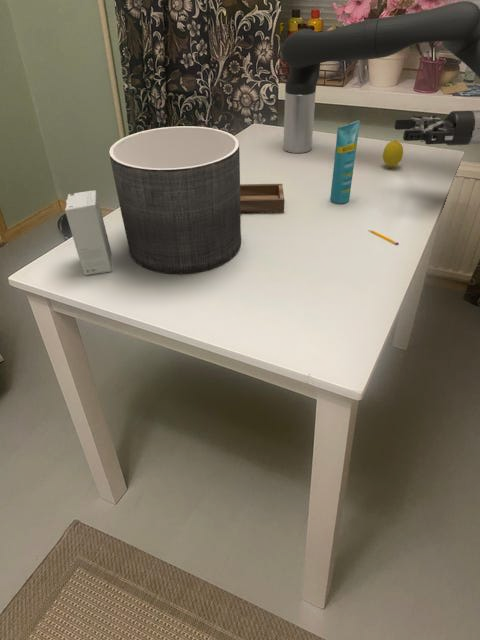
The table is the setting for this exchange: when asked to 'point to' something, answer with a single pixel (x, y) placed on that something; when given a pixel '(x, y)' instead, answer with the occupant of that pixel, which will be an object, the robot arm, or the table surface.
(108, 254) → the skincare box
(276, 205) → the tray
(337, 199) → the tube
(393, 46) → the robot arm
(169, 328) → the table surface
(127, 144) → the planter
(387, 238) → the pencil
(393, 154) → the lemon
